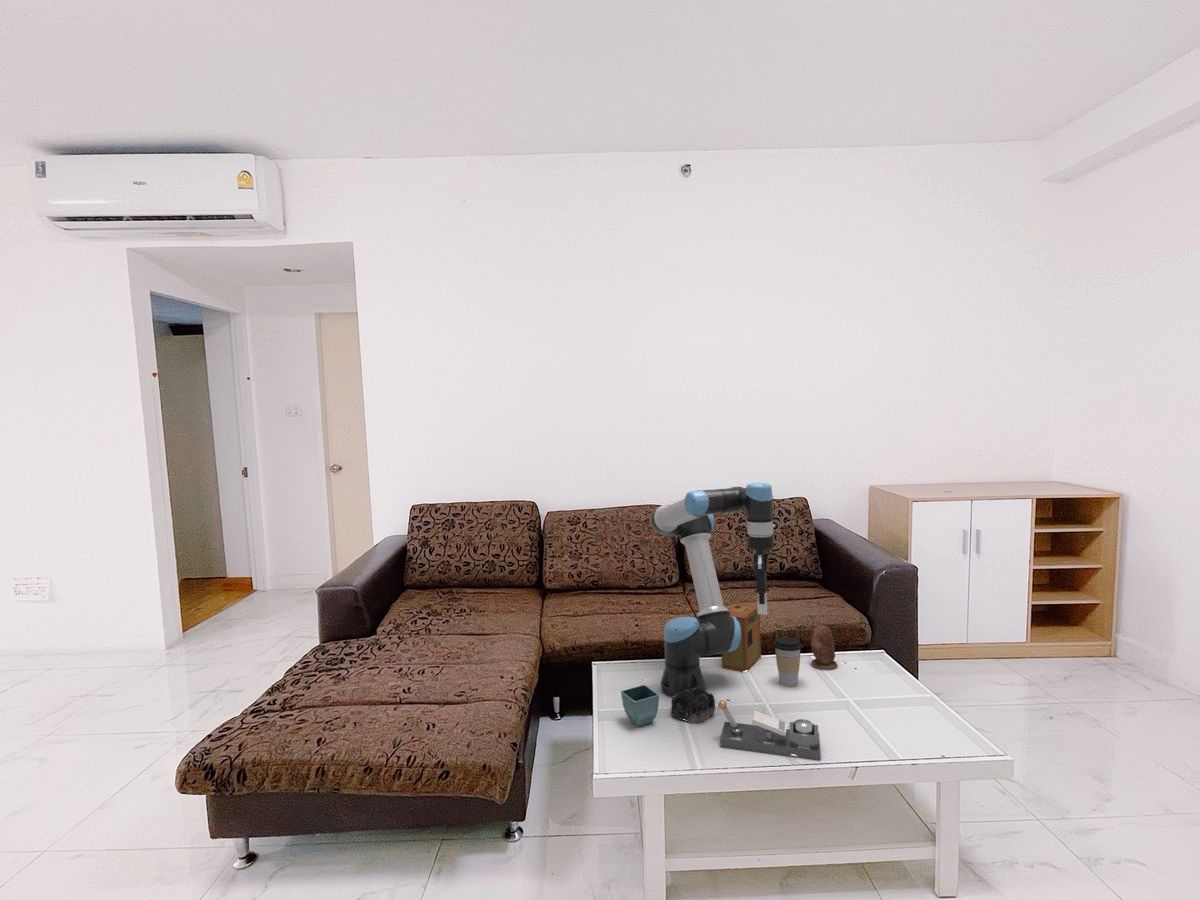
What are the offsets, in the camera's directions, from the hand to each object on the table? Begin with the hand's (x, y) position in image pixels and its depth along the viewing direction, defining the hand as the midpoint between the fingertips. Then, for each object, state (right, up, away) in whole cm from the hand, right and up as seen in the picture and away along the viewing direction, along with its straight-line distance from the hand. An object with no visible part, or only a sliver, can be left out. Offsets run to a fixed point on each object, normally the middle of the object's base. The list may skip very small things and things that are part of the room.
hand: (762, 613), depth 179 cm
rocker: (-1, -27, -13) cm, 30 cm away
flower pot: (-36, -34, +3) cm, 50 cm away
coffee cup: (+16, -31, +26) cm, 44 cm away
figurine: (+34, -30, +41) cm, 61 cm away
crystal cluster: (-20, -33, +7) cm, 39 cm away
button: (+7, -30, -16) cm, 34 cm away
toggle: (-10, -30, -10) cm, 33 cm away
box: (+5, -31, +46) cm, 56 cm away
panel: (-1, -33, -13) cm, 35 cm away
